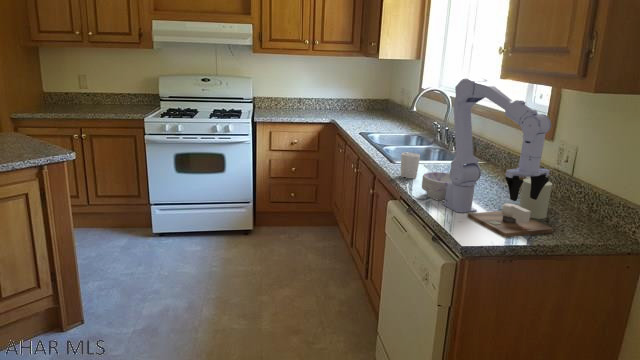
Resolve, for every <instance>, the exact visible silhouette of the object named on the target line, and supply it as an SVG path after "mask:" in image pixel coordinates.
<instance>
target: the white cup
mask: <svg viewBox="0 0 640 360" xmlns="http://www.w3.org/2000/svg"><path fill="white" fill-rule="evenodd" d="M420 157H421V154H419V153H415V152H408V151H406V152H402V153H401V155H400V177H401V176H402V177H401V178H403V177H406V178H405V179H407V178H414V179H416V178H417V176H418V170H419V165H420V159H421V158H420Z"/></svg>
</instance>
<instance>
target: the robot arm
mask: <svg viewBox="0 0 640 360" xmlns="http://www.w3.org/2000/svg"><path fill="white" fill-rule="evenodd" d="M454 90H455V97H454V102H453V120H454V123H453V124H454V139H455V140H454V141H455V155H456V156H455V157H454V159H453V160H452V161H451V162H450V170H449V172H448V173H449V176H450V179H451V182H449V184H448V185H447V188H446V195H445V201H444V202H442V203H441V205H443V206H445V207H446V208H448V209H450V210H452V211H454V212H456V213H473V212H477V211H478V210H477V209H476V208H474V207H473V199H474V195H475V194H474V192H475V185H476V184H477V182H478V181H479V180H480V179H481V177H482V170H481V167H480V165H479V160H478V159H477V158H476V157H475V156H474V149H473V148H474V145H473V129H472V127H473V126H472V108H473V107H474V106H475V105H476V104H477V103H479V102H480V101H482V100H484V99H485V98H486V99H488V100H489V101H490V102H492V103H493V104H495V105H496V106H499V108H501V109H503V110H504V111H505V112H504V114H505V116H506V117H507V118H508V119H510V120H512V122H514V123H515V124H516V125H517V126H519V127H520V129H521V132H522V134H523V135H522V138H523V139H522V144H521V149H520V150H521V151H520V156H519V161H518V167H517V168H511V169H506V170H505V171H506V172H505V176H504V179H505V181H506V184H507V186H508V187H507V188H508V191H509V200H511V201H513V202H517V200H518V198H519V194H520V190H521V186H523V182H524V181H523V180H524V179H523V180H522V179H521V178H523V177H525V178H526V177H528V176H530V177H531V191H530V198H532V199H534V200H537V198H538V196H539V194H540V192H541V190H542V188H543V187H544V186H545V184H546V183H547V182H550V178H549V177H550V171H551V170H550V169H547V168H540V167H541V162H542V155H543V150H544V146H545V145H544V144H545V140H546V138H545V137H546V134H547V133H548V132H550V130H551V128H552V121H551V119H550V118H549V117H548V115H547V114H543V113H542V114H538V111H537V110H536V109H532V108H530V107H529V106H528V105H526V101H524V100H519V99H518V100H517V99H516V100H512V99H511V98H510V97H509V96H508V95H506V94H504V93H503V92H502V91H501V90H500V89H499V88H497V87H496V86H495V85H494V84H493V83H492V82H491V81H488V80H487V79H486V78H485V79H484V78H474V79H473V78H462V79H461V80H460V81H458V84H457V85H456V86H455V89H454Z"/></svg>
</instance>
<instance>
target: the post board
mask: <svg viewBox="0 0 640 360" xmlns="http://www.w3.org/2000/svg"><path fill="white" fill-rule="evenodd" d="M467 218H469V219H471V220H472V221H474V222H476V223H478V224H480V225H482V226H483V227H484V228H485V227H486V228H488V229H489V230H492V231H493V232H495V233H497V234H498V235H500V236H502V237H504V238H510V237H519V236H529V235H539V234H542V235H543V234H550V233H554V228H552V227H550V226H548V225H546V224H543V223H541V222H540V221H537V220H535V219H534V218H530V219H529V222H525V223H523V222H521V221H519V220H516V219H514V218H512V217H507V216H504V215H502V210H497V211H483V212H467Z"/></svg>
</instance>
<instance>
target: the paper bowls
mask: <svg viewBox="0 0 640 360" xmlns="http://www.w3.org/2000/svg"><path fill="white" fill-rule="evenodd" d="M449 182H451V179H450V176H449V172H443V171H431V172H430V171H429V172H426V173H424V174H423V175H422V181H421V189H422V190H423V191H425V192H426V195H427V196H428V197H429V198H431V199H432V200H433V199H434V200H436V199H437V201H442V200H443V201H444V202H445V195H446V188H447V185H448V184H449ZM443 201H442V202H443Z"/></svg>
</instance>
